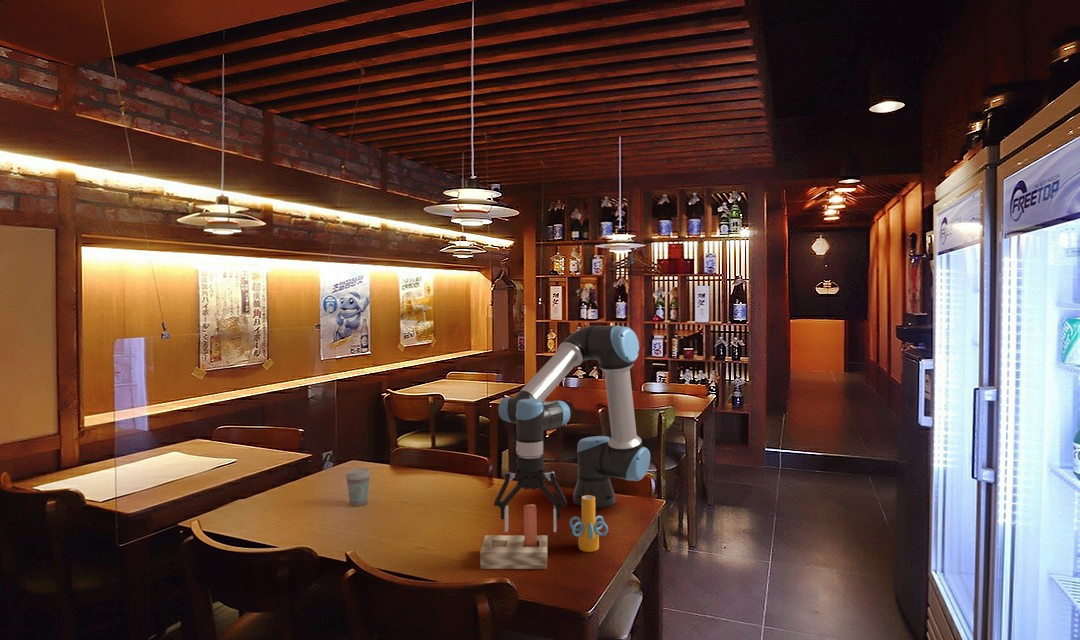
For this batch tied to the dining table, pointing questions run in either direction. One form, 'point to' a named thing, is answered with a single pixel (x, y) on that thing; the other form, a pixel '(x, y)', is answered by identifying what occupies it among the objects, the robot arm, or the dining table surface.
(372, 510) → the dining table surface
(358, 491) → the coffee cup
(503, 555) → the socket block
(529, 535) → the dowel
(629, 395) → the robot arm
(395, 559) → the dining table surface
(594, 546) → the cylinder
